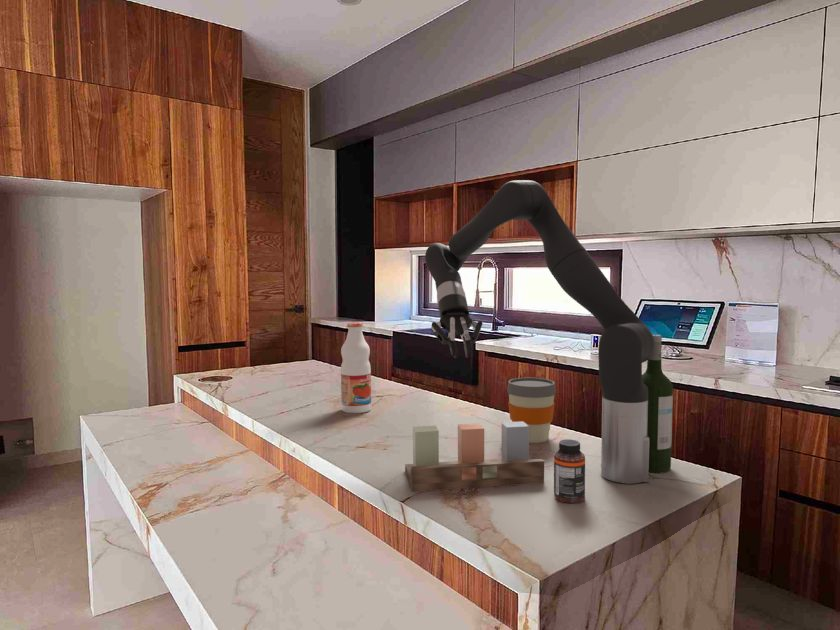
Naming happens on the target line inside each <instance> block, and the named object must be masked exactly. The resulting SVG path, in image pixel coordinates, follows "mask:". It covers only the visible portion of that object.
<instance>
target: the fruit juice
mask: <svg viewBox="0 0 840 630" xmlns="http://www.w3.org/2000/svg"><path fill="white" fill-rule="evenodd" d="M363 327H364V324H363V322H357V321H356V322H355V321H354V322H353V321H352V322H348V323H347V324H346V328H347V329H348V331H347V335H346V339H345V341H344V343H343V344H342V346H341V349H340V354H341V358H342V363H341V365H340V378H341V379H340V381H341V382H340V385H341V386H340V387H341V410H342V412H343V413H347V414H362V413H363V414H364V413H367V412H370V411H371V410H372V377H371V376H372V368H371V367H372V366H371V362H370V360H369V359H370V353H371V350H370V349H371V348H370V346H369V344H368V343H367V340H366V339H365V336H364V334H363Z"/></svg>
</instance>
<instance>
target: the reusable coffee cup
mask: <svg viewBox="0 0 840 630" xmlns="http://www.w3.org/2000/svg"><path fill="white" fill-rule="evenodd" d="M507 393H508V398H509V401H508V411H509V419H510V420H511V422H521V421H523V422H524V423H526V424H527V425H528V426H529V444H536V443H537V444H539V443H544V442H547V441H548V440H549V436H550V428H551V422H553V420H554V418H553V417H554V411H555V402H554V399H555V395H556V394H557V392H556V383H555V381H554V380H551V379H548V378H540V377H518V378H517V377H516V378H511V379H510V380H508V383H507Z"/></svg>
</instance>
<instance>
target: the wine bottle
mask: <svg viewBox="0 0 840 630" xmlns="http://www.w3.org/2000/svg"><path fill="white" fill-rule="evenodd" d="M652 335H653V337H654V341H655V350H654V353H653V355H652V356H651V358H650V359H648V360H647V361H646V362H647V363H646V369H645V372H644V373H642V381H643V383H644V384H645V385H646V386H647V387H648V426H647V435H648V437H649V473H651V474H664V473H668V472H670V470H671V469H672V468H671V467H672V440H673V439H672V438H673V437H672V435H673V433H672V432H673V431H672V430H673V406H674V405H673V402H674V399H673V397H674V395H673V394H674V386H673V383H672V381H671V380H670V378H669V377H667V376H666V375H665V373H663V369H662V341H663V338H662V335H661V334H652Z"/></svg>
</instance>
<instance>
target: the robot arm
mask: <svg viewBox="0 0 840 630" xmlns="http://www.w3.org/2000/svg"><path fill="white" fill-rule="evenodd" d="M563 219H564V218H563V217H562V216H561V215H560V213H559V211H558V210H557V208H556V206H555V205H554V202H553V201H552V199H551V197H550V196H549V194H548V192H547V191H546V190H545V188H544V187H543V186H542V185H541V184H540V183H539V182H536V181H534V180H529V179H527V180H525V179H524V180H523V179H522V180H520V179H519V180H517V179H515V180H510V181H508V182H506V183H504V184H503V185H502V186H501V187H499V189H498V190H497V191H495V193H494V194H493V195H492V197H491V198H490V199H489V201H488V202H486V204H485V205H484V206H483V208H481V210H480V211H479V212H477V214H476V215H475V216H474V217H473V218H472V219H471V220H470V221H468V222H467V223H466V224H465V225H463V226H462V227H461V228H460V229H459V230H457V231H456V232H455V233H454V234H453V235H452V236H450V238H449V240H448V245H445V244H443V243H441V242H434V243H432V244H430V245H429V246H428V247H427V248H426V251H425V254H424V259H425V261H424V262H425V265H426V267H427V270H428V272H429V273H430V275H431V277H432V279H433V281H434V282H435V288H436V303H437V307H438V313H439V318H440V319H439V321H437V322H435V321H433V322H431V326H430V331H431V333H432V334H433V335H434V336H435V337H436V338H437V340H438V341H439V342H440V343H441V344H442V345H443V346H444V345H448V346H449V350H450V355H451V356H452V357H453V358H454V359H458V357H459V350H458V346H457V345H458V344H457V341H456V335H457V336H458V335H459V336H460V337H461V340H462V342H463V350H464V353H465V358H468V359H469V358H470V356H471V355H472V353H473V349H472V345H474V344H476V342H477V341H478V337H479V335H480V333H481V330H482V328H483V323H484V322H483V321H481V320H478V321H475V320H473V318H472V317H471V315H470V311H469V306H468V302H467V297H466V293H465V290H464V286H463V282H462V277H461V274H460V272H459V271H460V270H461V268H462V266H464V263H465V262H466V260H467V259H468V258H469V256H471V255H472V254H473V253H475V252H477V251H478V250H479V249H480V248H482V247H483V246H484V245H485V244H486V242H487V241H488V240H489V238H490V236H491V235H492V233H493V231H494V230H496V229H497V228H498V227H500V226H502V225H503V224H506V223H507V222H510V221H512V220H513V221H519V220H521V221H522V220H526V221H528V222H529V224H530V225H531V226H532V228H534V230H535V231H536V233H537V234H538V236H539V237H540V239H541V242H542V245H543V252H544V259H545V264H546V266H547V269H548V270H549V272H550V274H551V275H552V276H553V278H554V279H555V280H556V283H557V284H558V285H559V286H560V288H561V289H562V290H563V291H564V292H565V293H566V294H567V295H568V296H569V297H570V299H572V300H574V301H575V302H576V303H578V304H579V305H580V306H582V307H583V308H584V309H585V310H587V311H588V312H589V313H590V314H591V315H592V316H593V317H594V318H595V319H596V320H597V322H598V323H599V324H600V326H601V327H602V329H603V330H604V331H603V332H602V334H601V335H600V338H599V343H598V379H599V385H600V387H601V390H602V396H601V397H602V400H601V401H602V403H601V405H602V406H601V407H602V408H601V409H602V410H601V450H600V451H601V455H600V457H601V458H600V468H601V469H600V470H601V471H600V474H601V476H602V477H603V478H604V479H606V480H609V481H611V482H614V483H620V484H629V485H632V484H640V483H649V437H648V435H647V426H648V387H647V386H646V385H645V384H644V383H643V381H642V374H643V366H642V365H643V363H645V362H647V360H648V359H650V358H651V356H652V355H653V353H654V350H655V341H654V337H653V335H654V334H653V333H652V331H651V329H650V328H648V326H647V325H646V324H645V323H644V322H643V320H641V319H640V318H639V316H637V314H635V312H634V311H633V310H632V309H631V307H629V306H628V305H627V304H626V303H625V301H624V300H623V299H622V298H621V297H620V295H619V294H618V292H617V291H616V289H615V288H614V287H613V285H612V283H611V282H610V281H609V280H608V278H607V277H606V276H605V274H604V272H603V271H602V270H601V269H600V267H599V266H598V264H597V263H596V261H595V260H594V259H593V258H592V256H591V254H589V252H588V251H587V250H586V248H585V247H584V246H583V245H582V243H581V242H580V241H579V240H578V238H577V237H576V235H575V233H573V231H572V230H571V228H570V227H569V225H568V224H566V222H565V220H563ZM471 327H472V330H473V332H472V335H471V336H470V333H469V332H470V331H469V329H470V328H471ZM444 331H445V332H446V333H448V335H447V334H446V333H445V332H444Z"/></svg>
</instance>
